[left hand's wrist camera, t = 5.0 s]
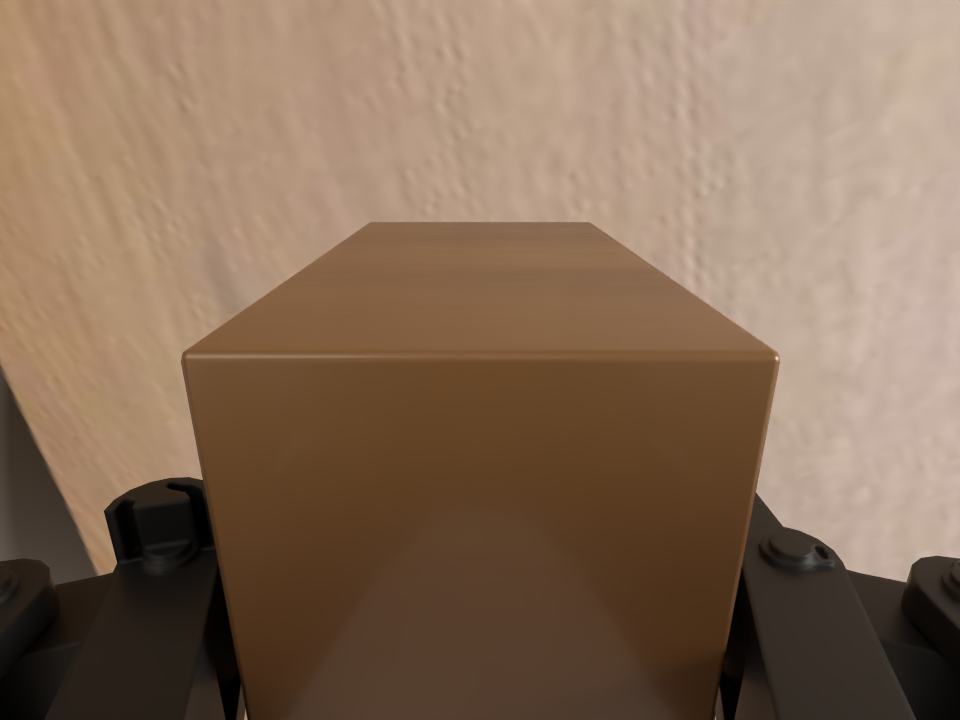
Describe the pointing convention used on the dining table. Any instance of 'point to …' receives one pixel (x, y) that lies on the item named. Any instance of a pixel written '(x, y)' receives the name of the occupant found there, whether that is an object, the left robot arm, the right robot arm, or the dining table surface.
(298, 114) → the dining table surface
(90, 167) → the dining table surface
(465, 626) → the bar
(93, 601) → the left robot arm
